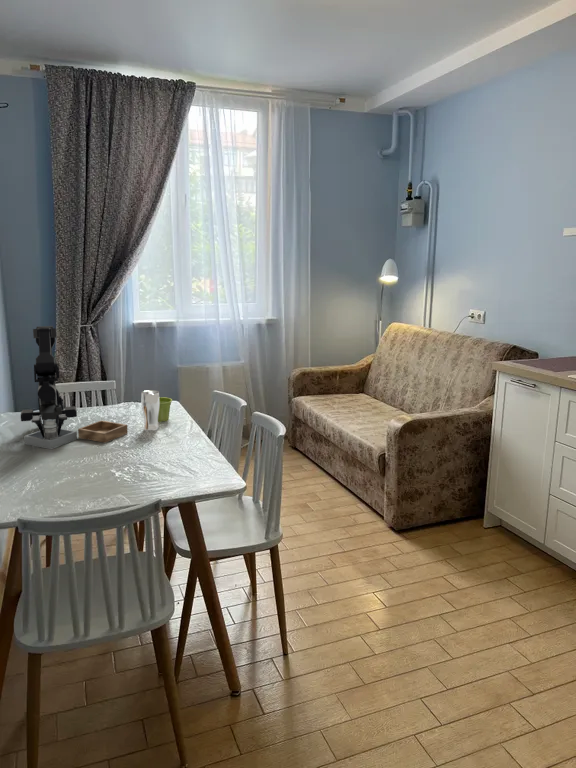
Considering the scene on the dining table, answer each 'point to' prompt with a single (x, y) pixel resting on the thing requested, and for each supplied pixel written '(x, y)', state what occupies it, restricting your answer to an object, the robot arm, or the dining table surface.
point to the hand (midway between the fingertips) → (51, 436)
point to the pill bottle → (50, 429)
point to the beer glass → (150, 409)
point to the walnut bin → (102, 431)
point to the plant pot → (164, 409)
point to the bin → (62, 439)
